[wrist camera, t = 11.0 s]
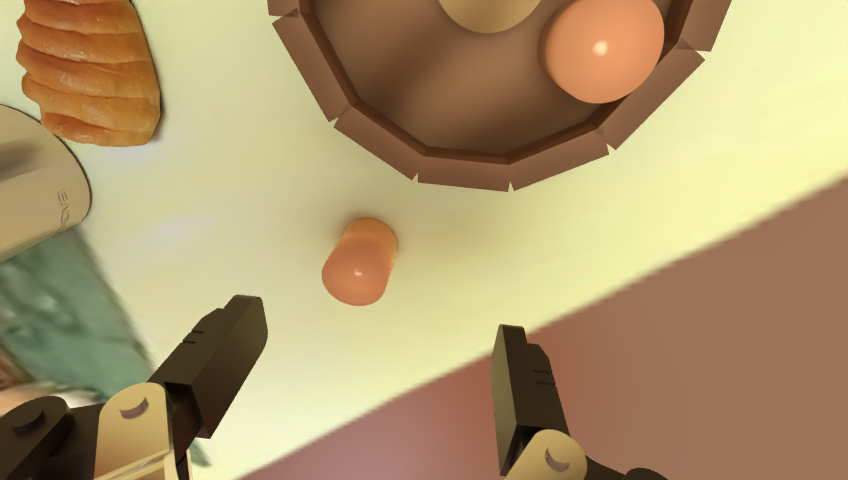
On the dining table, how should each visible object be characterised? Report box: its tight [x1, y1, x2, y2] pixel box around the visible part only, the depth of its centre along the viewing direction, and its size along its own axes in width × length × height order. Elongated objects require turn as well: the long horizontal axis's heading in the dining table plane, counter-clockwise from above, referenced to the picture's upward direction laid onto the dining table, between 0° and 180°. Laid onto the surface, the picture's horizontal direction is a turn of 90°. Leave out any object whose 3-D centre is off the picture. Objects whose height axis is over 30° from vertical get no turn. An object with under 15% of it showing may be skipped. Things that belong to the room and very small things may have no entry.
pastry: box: [16, 0, 161, 147], centre depth 21 cm, size 9×7×4 cm
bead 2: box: [538, 0, 664, 103], centre depth 17 cm, size 4×4×4 cm
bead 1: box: [322, 218, 398, 306], centre depth 25 cm, size 4×4×4 cm
